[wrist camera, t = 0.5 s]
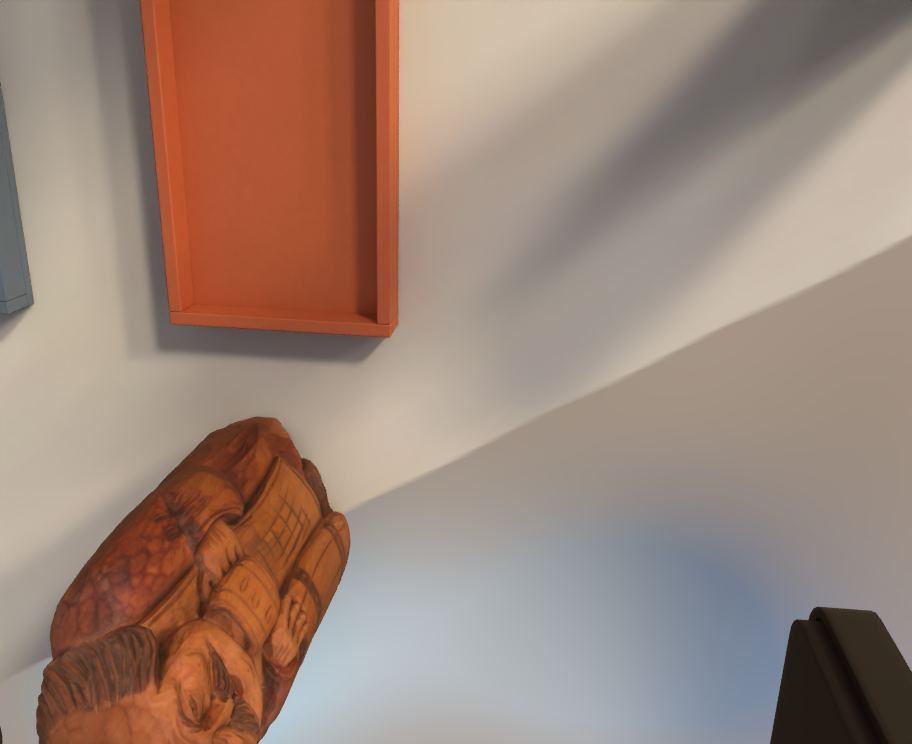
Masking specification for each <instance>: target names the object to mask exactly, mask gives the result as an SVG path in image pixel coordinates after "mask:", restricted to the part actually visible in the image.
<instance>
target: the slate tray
mask: <svg viewBox="0 0 912 744" xmlns="http://www.w3.org/2000/svg"><path fill="white" fill-rule="evenodd" d="M33 303H34V300H33V294H32V287H31V281H30V274H29V268H28V261H27V254H26V248H25V241H24V235H23V228H22V222H21V215H20V208H19V202H18V195H17V189H16V182H15V176H14V169H13V162H12V156H11V149H10V143H9V136H8V130H7V123H6V116H5V110H4V103H3V97H2V90H1V84H0V314H10V313H13V312H15V311H17V310H19V309H22V308H24V307H26V306H29V305H31V304H33Z"/></svg>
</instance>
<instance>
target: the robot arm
mask: <svg viewBox="0 0 912 744" xmlns="http://www.w3.org/2000/svg"><path fill="white" fill-rule="evenodd" d="M0 744H2V733H1V728H0ZM770 744H912V672H911V670H910V669H909V667H908V665H907V663H906V662H905V660H904V658H903V656H902V655H901V653H900V651H899V650H898V648H897V646H896V644H895V643H894V641H893V639H892V638H891V636H890V634H889V632H888V631H887V629H886V627H885V626H884V624H883V622H882V621H881V619H880V618H879V616H878V615H877V614H876V613H875V612H872V611H866V610H852V609H839V608H827V607H816V608H814V609H813V610H812V612H811V614H810V616H809V620H795V621H794V622H793V624H792V626H791V630H790V635H789V640H788V646H787V651H786V657H785V663H784V669H783V674H782V679H781V685H780V691H779V696H778V702H777V708H776V713H775V719H774V725H773V730H772V736H771V742H770Z"/></svg>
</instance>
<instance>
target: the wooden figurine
mask: <svg viewBox="0 0 912 744" xmlns="http://www.w3.org/2000/svg"><path fill="white" fill-rule="evenodd" d="M349 549H350V533H349V527H348V524H347V521H346V518H345V517H344V515H343V514H341V513H338V512H333V510H332V509H331V508H330V506H329V503H328V499H327V493H326V489H325V487H324V485H323V483H322V480H321V476H320V474H319V472H318V470H317V468H316V467H315V466H314V464H313V463H312V462H311V461H309V460H307V459H302V458H301V457H300V455H299V453H298V451H297V449H296V448H295V446H294V444H293V442H292V440H291V438H290V436H289V435H288V433H287V432H286V430H285V429H284V428H283V427H282V425H281V424H280V422H279V421H278V420H277V419H275V418H263V417H254V418H250V419H246V420H243V421H239V422H235V423H233V424H230V425H228V426H227V427H225V428H223V429H219V430H216V431H214V432H212V433H210V434H209V435H208V436H207V437H206V438H205V439H204V440H203V441H202V442H201V443H200V444H199V445H198V446H197V447H196V448H195V449H194V450H193V451H192V452H191V453H190V454H189V455H188V456H187V457H186V458H185V459H184V460H183V461H182V462H181V463H180V464H179V465H178V466H177V467H176V468H175V469H174V470H173V471H172V472H171V473H170V474H169V475H168V476H167V477H166V478H165V479H164V480H163V481H162V482H161V483H160V484H159V486H158V487H157V488H156V489H155V490H154V491H153V492H151V493H150V494H149V495H148V496H147V497H146V498H145V499H144V500H143V501H142V502H141V503H140V504H139V505H138V506H137V507H136V508H135V509H134V510H132V511H131V512H130V513H129V514H128V515H127V516H126V517H125V518H124V519H123V520H122V522H121V523H120V524H119V525H118V526H117V527H116V528H115V529H114V530H113V532H112V533H111V534H110V535H109V536H108V537H107V538H106V540H105V541H104V542H103V543H102V544H101V545H100V547H99V548H98V549H97V551H96V552H95V554H94V555H93V556H92V557H91V559H90V560H89V561H88V562H87V563H86V564H85V566H84V567H83V568H82V570H81V571H80V572H79V574H78V575H77V577H76V578H75V580H74V581H73V582H72V584H71V585H70V586H69V588H68V589H67V591H66V592H65V594H64V595H63V597H62V598H61V600H60V602H59V603H58V605H57V608H56V612H55V614H54V618H53V621H52V625H51V631H50V642H51V650H52V657H53V661H51V662H50V663H49V664H48V665H47V667H46V668H45V669H44V671H43V676H44V679H43V682H42V685H41V691H42V693H41V694H40V695H39V697H38V703H39V705H38V708H37V712H36V718H37V724H36V729H37V734H38V736H39V744H258V743H259V741H260V740H261V739H262V738H263V737H264V735H265V734H266V732H267V730H268V728H269V726H270V725H271V724H272V722H273V721H274V720H275V719H276V718H277V716H278V715H279V713H280V711H281V709H282V707H283V705H284V703H285V700H286V698H287V696H288V693H289V691H290V689H291V686H292V684H293V682H294V679H295V677H296V674H297V672H298V670H299V667H300V666H301V664H302V662H303V660H304V658H305V655H306V653H307V650H308V648H309V645H310V643H311V641H312V638H313V636H314V634H315V633H316V631H317V629H318V627H319V625H320V623H321V621H322V619H323V617H324V615H325V613H326V610H327V609H328V606H329V604H330V602H331V600H332V598H333V596H334V594H335V592H336V590H337V587H338V585H339V583H340V581H341V577H342V575H343V572H344V570H345V567H346V564H347V560H348V555H349Z"/></svg>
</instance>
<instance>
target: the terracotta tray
mask: <svg viewBox="0 0 912 744" xmlns="http://www.w3.org/2000/svg"><path fill="white" fill-rule="evenodd" d="M140 6H141V17H142V28H143V38H144V49H145V59H146V70H147V80H148V91H149V101H150V112H151V123H152V133H153V144H154V154H155V165H156V175H157V186H158V196H159V207H160V217H161V228H162V239H163V249H164V260H165V270H166V281H167V291H168V302H169V311H170V323H171V324H178V325H194V326H211V327H227V328H244V329H260V330H276V331H293V332H309V333H325V334H342V335H358V336H374V337H390V336H391V335H392V333H393V332H394V330H395V328H396V327H397V325H398V178H399V0H140Z"/></svg>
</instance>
